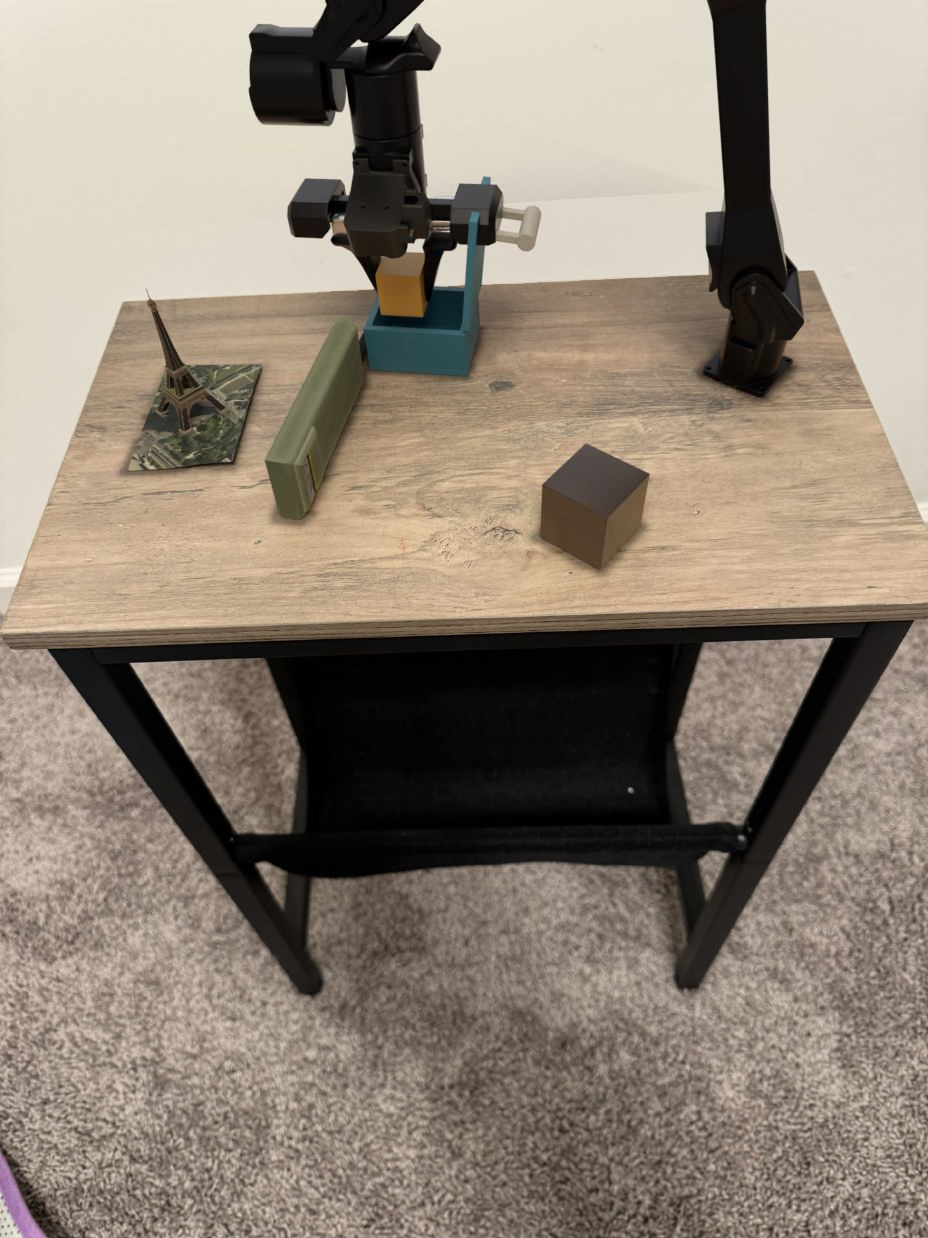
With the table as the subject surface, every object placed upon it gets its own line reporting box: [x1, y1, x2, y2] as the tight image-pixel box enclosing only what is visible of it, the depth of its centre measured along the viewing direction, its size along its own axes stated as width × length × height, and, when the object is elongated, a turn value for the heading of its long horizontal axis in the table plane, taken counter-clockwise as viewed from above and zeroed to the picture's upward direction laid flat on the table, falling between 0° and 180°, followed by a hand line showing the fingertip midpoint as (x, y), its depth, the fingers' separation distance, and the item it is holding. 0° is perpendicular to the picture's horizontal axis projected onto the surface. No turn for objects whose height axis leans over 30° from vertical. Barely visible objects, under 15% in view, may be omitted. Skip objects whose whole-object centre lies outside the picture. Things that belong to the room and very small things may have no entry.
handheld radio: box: [264, 314, 368, 521], centre depth 76 cm, size 7×3×25 cm
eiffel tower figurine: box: [127, 288, 263, 472], centre depth 75 cm, size 15×10×13 cm
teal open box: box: [363, 285, 481, 377], centre depth 83 cm, size 10×8×5 cm
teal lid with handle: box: [462, 175, 542, 332], centre depth 76 cm, size 11×8×6 cm
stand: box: [539, 442, 651, 571], centre depth 66 cm, size 6×6×6 cm
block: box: [375, 251, 428, 317], centre depth 79 cm, size 4×4×4 cm
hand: (405, 297), depth 81 cm, fingers closed on block, 4 cm apart
